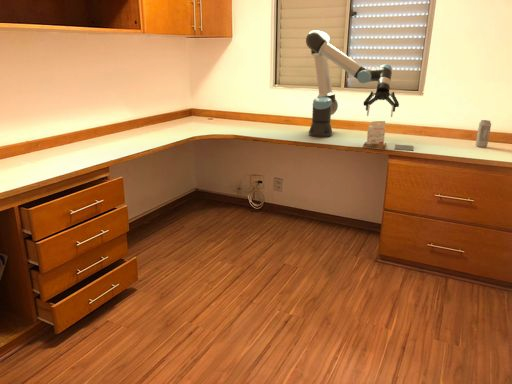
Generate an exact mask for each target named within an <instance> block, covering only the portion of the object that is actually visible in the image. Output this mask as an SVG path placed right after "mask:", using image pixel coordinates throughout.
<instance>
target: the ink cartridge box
mask: <svg viewBox="0 0 512 384" xmlns="http://www.w3.org/2000/svg"><path fill="white" fill-rule="evenodd" d="M385 134H386V121H385V120H376V121H371V125H367V134H366V142H367V143H372V144H385V136H386V135H385Z"/></svg>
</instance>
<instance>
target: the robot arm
mask: <svg viewBox="0 0 512 384" xmlns="http://www.w3.org/2000/svg"><path fill="white" fill-rule="evenodd" d="M330 39H331V38H330V35H329V34H328V33H327V32H326V31H323V30H317V29H316V30H311V31H310V32H309V33H308V34H307V35H306V38H305V45H306V46H307V48H308V49H310V53H311V55H312V56H313V57H314V64H315V65H314V66H315V71H316V81H317V87H318V88H317V89H318V95H317V98H314V99H313V100H312V101H313V102H312V113H311V114H312V117H311V125H310V128H309V131H308V135H309V136H310V137H316V138H328V137H332V136H333V129H332V124H331V117H332V116H333V115H334V114H335V113H336V111H337V110H338V107H339V105H338V104H339V103H338V101H337V100H336V95H335V93H334V91H333V88H332V87H333V86H332V80H331V79H332V78H331V72H330V63H329V61H331V62H332V63H333V64H335V65H336V66H338V67H340V68H341V69H342V70H343V71H345V72H346V73H348V74H350V75H351V76H353V77H354V78H355V80H357V81H358V82H359V83H361V84H367V83H370V82H377V85H376V92H373V91H370V94H369V95H368V97H366V99H365V100H364V101H363V106H364V107H365V111H366V112H367V113H366V116H367V117H369V114H370V106H371V105H373V103H375V102H376V101H378V100H379V101H386V102H387V103H389V104H390V106H391V111H390V112H391V113H390V118H393V114H394V112H396V108H399V106H400V103H399V101H398V99H397V97H396V95H395V91H392V92H390V89H391V81H392V75H393V72H392V71H393V68H392V66H391V65H390V64H388V63H385V64H381V65H380V67H379V68H370V69H369V68H367V69H366V68H365V67H364V66H362V65H360V64H359V63H358V62H357V61H355V60H354V59H352V58H351V57H349V56H348V55H346V54H345V53H344V52H342V51H340V50H339V49H338V48H336V47H335V46H334V45H332V44H330V43H331V40H330ZM391 98H392V99H391Z"/></svg>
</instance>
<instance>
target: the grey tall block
mask: <svg viewBox="0 0 512 384" xmlns="http://www.w3.org/2000/svg"><path fill="white" fill-rule="evenodd" d="M491 122H492V121H491V120H489V119H481V120H480V121H479V123H478V128H477V135H476V141H475V147H478V148H482V149H483V148H487V147H488V146H489V145H488V144H489V137H490V132H491V126H492V123H491Z"/></svg>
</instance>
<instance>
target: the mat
mask: <svg viewBox="0 0 512 384" xmlns="http://www.w3.org/2000/svg"><path fill="white" fill-rule="evenodd" d="M393 149H394V150H395V151H396V150H397V151H399V150H400V151H411V152H414V145H410V144H409V145H408V144H407V145H406V144H396V143H395V144H394V148H393Z"/></svg>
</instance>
